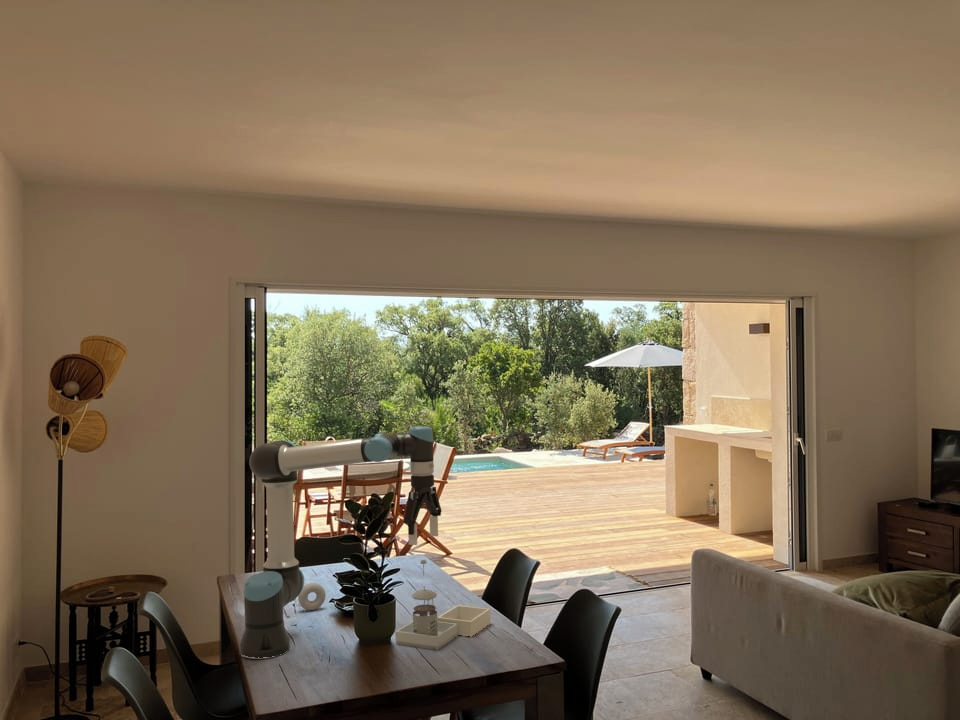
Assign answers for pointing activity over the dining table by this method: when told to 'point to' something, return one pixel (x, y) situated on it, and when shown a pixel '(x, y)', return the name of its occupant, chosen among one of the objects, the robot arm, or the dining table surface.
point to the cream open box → (467, 619)
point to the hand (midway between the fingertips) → (423, 540)
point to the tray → (427, 636)
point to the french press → (425, 612)
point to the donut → (305, 592)
